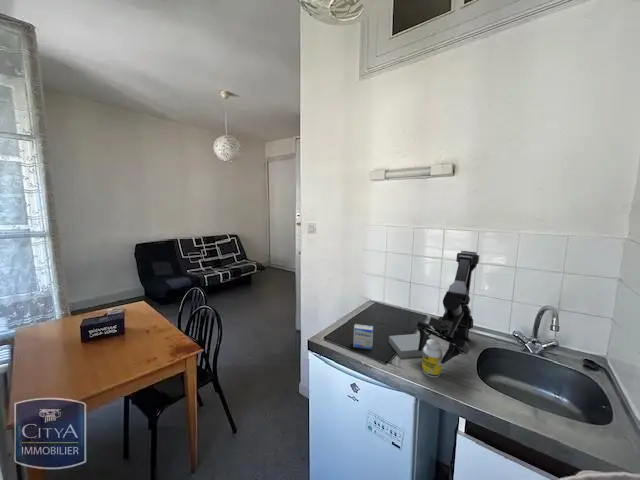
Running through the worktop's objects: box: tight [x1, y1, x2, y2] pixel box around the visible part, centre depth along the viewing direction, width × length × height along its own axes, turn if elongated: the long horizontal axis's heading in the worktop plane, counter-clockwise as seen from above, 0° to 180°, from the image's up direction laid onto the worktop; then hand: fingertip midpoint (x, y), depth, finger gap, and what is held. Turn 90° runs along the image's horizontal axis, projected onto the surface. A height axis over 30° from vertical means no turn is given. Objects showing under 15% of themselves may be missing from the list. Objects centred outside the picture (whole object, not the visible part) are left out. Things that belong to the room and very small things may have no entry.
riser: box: [388, 333, 426, 359], centre depth 116 cm, size 12×12×3 cm
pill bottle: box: [421, 339, 444, 378], centre depth 100 cm, size 6×6×12 cm
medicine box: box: [352, 323, 374, 350], centre depth 118 cm, size 8×4×9 cm, turn 76°
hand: (430, 356), depth 99 cm, fingers open, 9 cm apart
